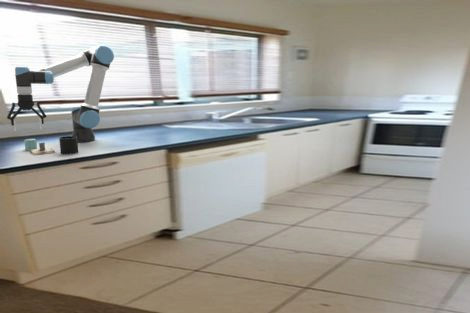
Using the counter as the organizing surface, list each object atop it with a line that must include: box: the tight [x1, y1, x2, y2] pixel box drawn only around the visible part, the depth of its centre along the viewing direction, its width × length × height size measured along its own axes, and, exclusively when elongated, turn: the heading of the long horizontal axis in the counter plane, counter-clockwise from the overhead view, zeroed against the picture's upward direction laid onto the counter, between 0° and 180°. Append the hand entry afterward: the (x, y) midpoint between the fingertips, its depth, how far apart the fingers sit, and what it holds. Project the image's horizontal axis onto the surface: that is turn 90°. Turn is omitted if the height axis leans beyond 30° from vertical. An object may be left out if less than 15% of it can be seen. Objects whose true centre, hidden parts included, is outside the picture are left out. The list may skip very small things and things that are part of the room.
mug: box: [58, 135, 79, 155], centre depth 209 cm, size 9×12×9 cm
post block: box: [30, 142, 56, 156], centre depth 209 cm, size 11×11×5 cm
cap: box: [23, 138, 38, 152], centre depth 216 cm, size 6×6×6 cm
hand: (28, 130), depth 213 cm, fingers open, 13 cm apart
